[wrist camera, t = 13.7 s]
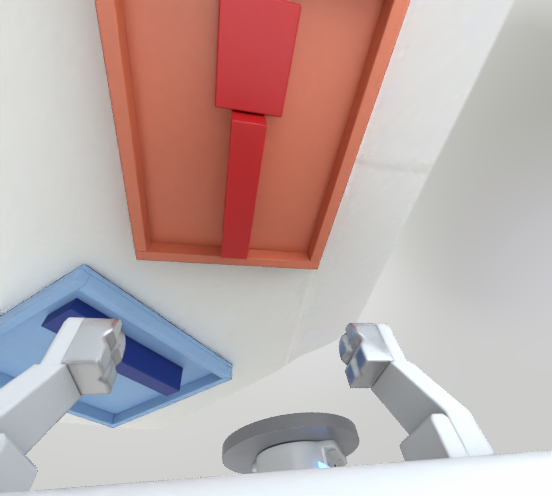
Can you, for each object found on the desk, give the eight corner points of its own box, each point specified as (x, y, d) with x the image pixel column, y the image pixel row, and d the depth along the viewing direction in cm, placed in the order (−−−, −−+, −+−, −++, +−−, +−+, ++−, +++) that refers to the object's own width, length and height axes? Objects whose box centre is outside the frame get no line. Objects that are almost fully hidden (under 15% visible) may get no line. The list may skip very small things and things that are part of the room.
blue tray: (232, 365, 34) (232, 379, 33) (117, 414, 39) (113, 428, 37) (84, 263, 23) (74, 279, 21) (-55, 350, 27) (-70, 367, 26)
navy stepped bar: (47, 314, 25) (31, 340, 23) (76, 297, 24) (62, 323, 22) (164, 376, 33) (160, 399, 31) (189, 365, 32) (186, 388, 30)
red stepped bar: (220, -14, 13) (218, -18, 11) (297, 5, 14) (308, 3, 12) (209, 234, 22) (207, 257, 20) (257, 238, 22) (260, 260, 20)
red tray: (312, 256, 25) (317, 269, 23) (141, 245, 22) (136, 260, 21) (402, -22, 14) (420, -26, 13) (92, -105, 11) (74, -121, 10)
